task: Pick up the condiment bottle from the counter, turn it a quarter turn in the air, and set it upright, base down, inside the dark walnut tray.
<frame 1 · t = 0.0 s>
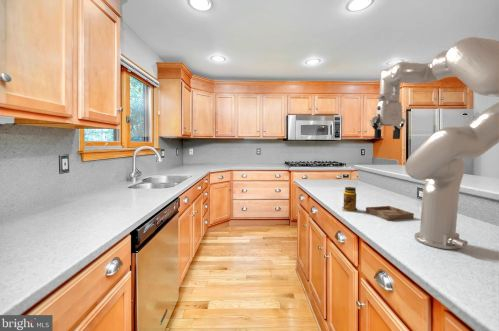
hand: (387, 138, 100), 37 cm above the countertop, tool pointing down, fingers open, 9 cm apart
condiment: (349, 209, 121), on the countertop
walnut tray: (388, 215, 111), on the countertop
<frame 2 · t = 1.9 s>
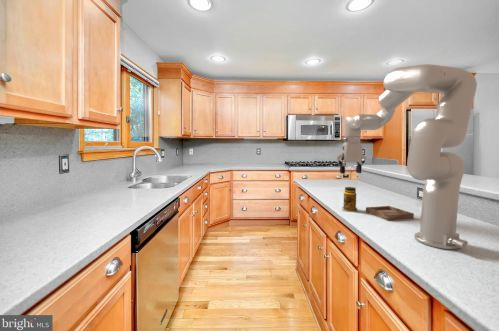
hand: (350, 173, 120), 19 cm above the countertop, tool pointing down, fingers open, 9 cm apart
nothing on the countertop moved.
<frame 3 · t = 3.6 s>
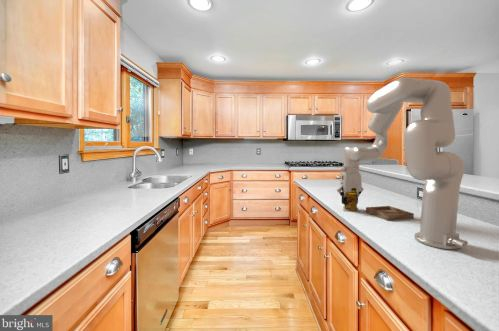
hand: (349, 203, 121), 3 cm above the countertop, tool pointing down, fingers closed on condiment, 6 cm apart
condiment: (350, 209, 121), on the countertop, touching gripper
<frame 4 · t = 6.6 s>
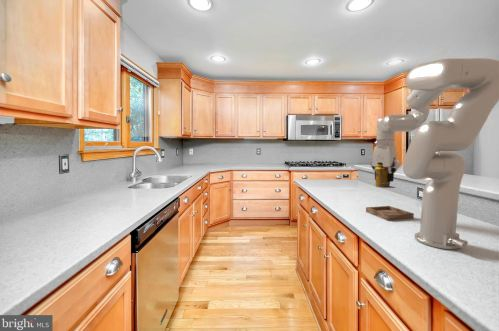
hand: (383, 180, 111), 17 cm above the countertop, tool pointing down, fingers closed on condiment, 6 cm apart
condiment: (384, 187, 110), point 14 cm above the countertop, touching gripper
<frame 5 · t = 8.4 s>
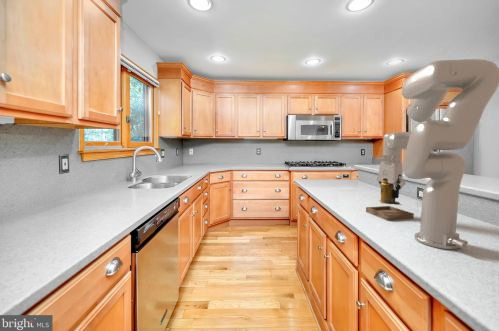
hand: (389, 196, 110), 9 cm above the countertop, tool pointing down, fingers closed on condiment, 6 cm apart
condiment: (389, 203, 110), point 6 cm above the countertop, touching gripper
when the fingers open (5 cm above the countertop, at t = 9.6 s): condiment drops 1 cm, resting on walnut tray.
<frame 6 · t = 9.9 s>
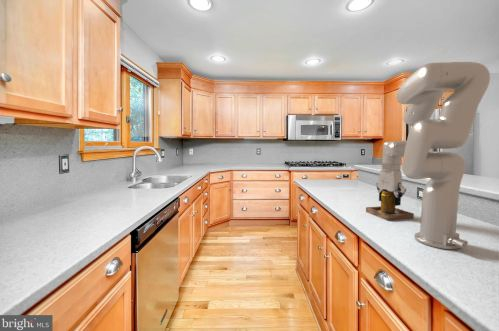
hand: (389, 202, 110), 6 cm above the countertop, tool pointing down, fingers open, 8 cm apart
condiment: (389, 214, 110), point 1 cm above the countertop, touching walnut tray
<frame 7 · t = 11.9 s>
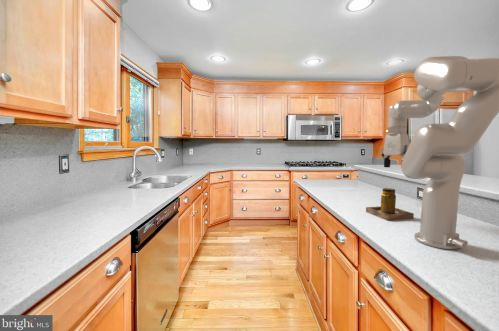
hand: (395, 167, 107), 23 cm above the countertop, tool pointing down, fingers open, 9 cm apart
nothing on the countertop moved.
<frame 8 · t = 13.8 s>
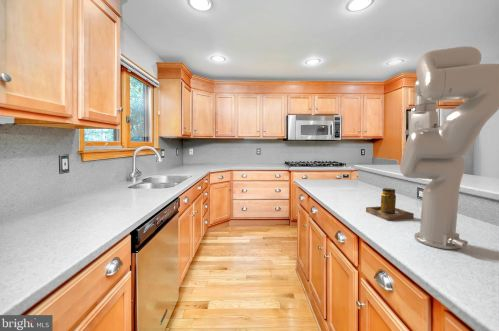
hand: (422, 149, 100), 32 cm above the countertop, tool pointing down, fingers open, 9 cm apart
nothing on the countertop moved.
at the end: condiment inside the target area on the walnut tray (0.8 cm from its centre), point 0.8 cm above the walnut tray's base; condiment tilted 0°; the gripper is holding nothing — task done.
